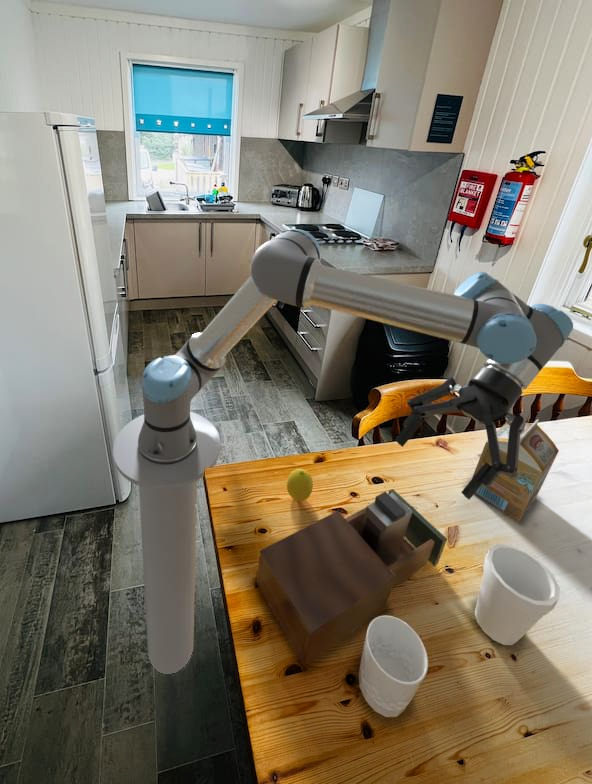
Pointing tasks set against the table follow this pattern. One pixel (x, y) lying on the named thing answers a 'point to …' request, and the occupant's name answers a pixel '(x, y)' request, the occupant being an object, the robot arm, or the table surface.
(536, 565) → the foam cup
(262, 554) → the cabinet
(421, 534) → the drawer
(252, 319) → the robot arm
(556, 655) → the table surface
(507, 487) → the milk carton
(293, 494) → the lemon
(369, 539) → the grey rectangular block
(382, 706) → the white cup
